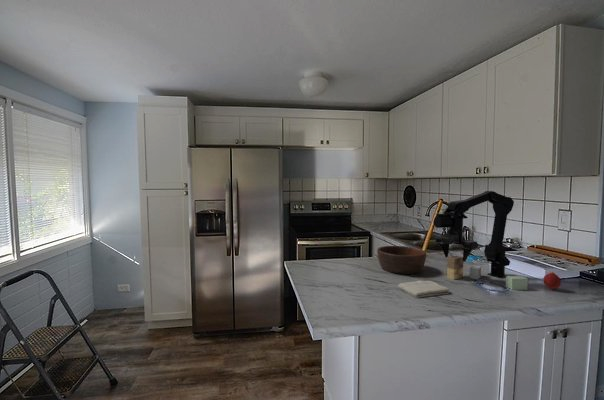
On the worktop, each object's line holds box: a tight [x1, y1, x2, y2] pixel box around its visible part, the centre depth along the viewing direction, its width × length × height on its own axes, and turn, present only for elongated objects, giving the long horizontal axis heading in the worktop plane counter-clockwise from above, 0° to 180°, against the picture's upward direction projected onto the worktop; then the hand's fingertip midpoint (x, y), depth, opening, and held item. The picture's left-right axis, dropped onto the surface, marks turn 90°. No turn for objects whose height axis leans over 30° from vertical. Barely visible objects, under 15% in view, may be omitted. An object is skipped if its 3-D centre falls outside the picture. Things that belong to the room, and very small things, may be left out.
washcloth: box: [397, 279, 450, 299], centre depth 123 cm, size 12×18×3 cm, turn 109°
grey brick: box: [469, 264, 482, 280], centre depth 142 cm, size 7×4×5 cm, turn 138°
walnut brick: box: [446, 255, 464, 269], centre depth 141 cm, size 7×4×5 cm, turn 118°
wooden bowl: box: [376, 245, 427, 275], centre depth 156 cm, size 25×25×10 cm
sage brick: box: [505, 275, 529, 291], centre depth 126 cm, size 7×4×5 cm, turn 93°
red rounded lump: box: [542, 271, 562, 291], centre depth 125 cm, size 6×6×8 cm
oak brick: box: [446, 267, 464, 280], centre depth 141 cm, size 7×4×5 cm, turn 118°
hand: (455, 259), depth 141 cm, fingers open, 9 cm apart
